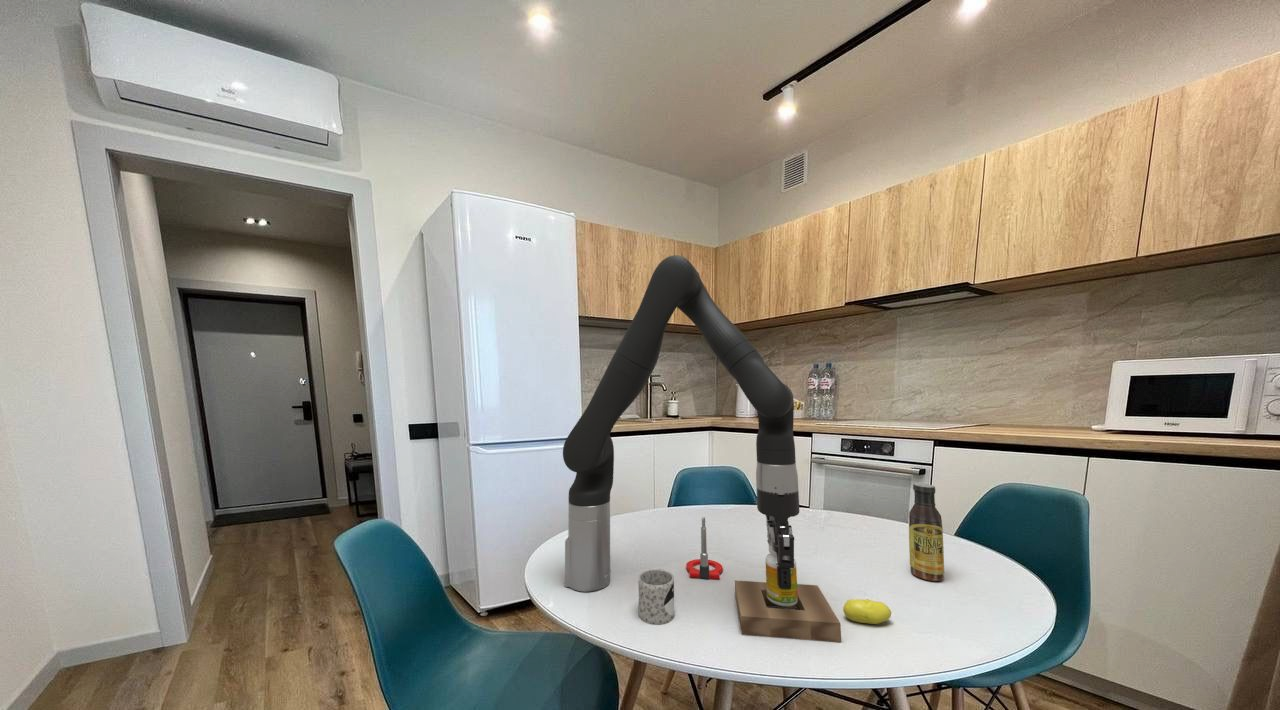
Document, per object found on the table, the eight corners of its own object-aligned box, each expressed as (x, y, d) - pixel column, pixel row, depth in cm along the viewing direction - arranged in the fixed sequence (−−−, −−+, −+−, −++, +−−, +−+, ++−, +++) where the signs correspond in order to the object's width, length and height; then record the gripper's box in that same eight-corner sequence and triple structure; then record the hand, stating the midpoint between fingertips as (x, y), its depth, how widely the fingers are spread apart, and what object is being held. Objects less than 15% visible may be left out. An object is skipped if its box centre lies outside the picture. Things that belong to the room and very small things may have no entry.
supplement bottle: (783, 610, 69) (780, 552, 70) (760, 596, 74) (758, 542, 75) (804, 602, 72) (801, 546, 73) (781, 589, 77) (779, 537, 78)
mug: (673, 626, 70) (672, 587, 71) (636, 623, 71) (635, 584, 72) (676, 597, 80) (676, 563, 81) (644, 595, 81) (644, 561, 82)
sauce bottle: (914, 580, 86) (907, 486, 88) (907, 568, 92) (901, 480, 94) (951, 585, 84) (943, 488, 86) (941, 573, 89) (934, 482, 91)
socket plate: (741, 634, 68) (741, 616, 68) (734, 595, 80) (734, 580, 81) (841, 642, 65) (840, 623, 65) (818, 601, 78) (817, 585, 78)
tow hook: (686, 563, 97) (685, 578, 88) (686, 508, 99) (684, 517, 90) (721, 565, 96) (723, 581, 87) (720, 509, 98) (722, 519, 89)
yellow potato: (840, 613, 74) (839, 591, 74) (887, 617, 72) (886, 595, 73) (847, 626, 70) (846, 603, 70) (897, 631, 68) (896, 607, 69)
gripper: (751, 477, 83) (754, 562, 81) (762, 495, 68) (766, 599, 67) (789, 478, 81) (793, 564, 80) (808, 496, 67) (813, 602, 66)
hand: (781, 579), depth 73 cm, fingers closed on supplement bottle, 5 cm apart
